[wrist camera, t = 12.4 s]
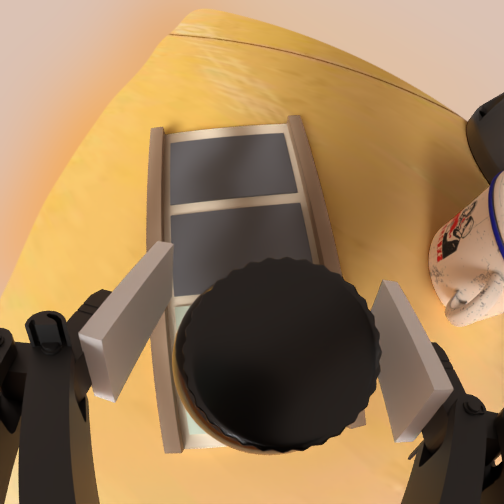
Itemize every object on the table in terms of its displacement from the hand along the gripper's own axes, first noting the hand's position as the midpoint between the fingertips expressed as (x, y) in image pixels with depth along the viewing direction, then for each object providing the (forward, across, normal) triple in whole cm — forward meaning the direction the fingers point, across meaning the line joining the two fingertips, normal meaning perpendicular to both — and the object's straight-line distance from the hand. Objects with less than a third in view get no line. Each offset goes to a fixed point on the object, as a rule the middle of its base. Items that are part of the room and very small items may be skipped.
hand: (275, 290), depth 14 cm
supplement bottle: (+2, 0, -7) cm, 7 cm away
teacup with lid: (+9, +15, -2) cm, 18 cm away
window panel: (+7, -2, -3) cm, 8 cm away
